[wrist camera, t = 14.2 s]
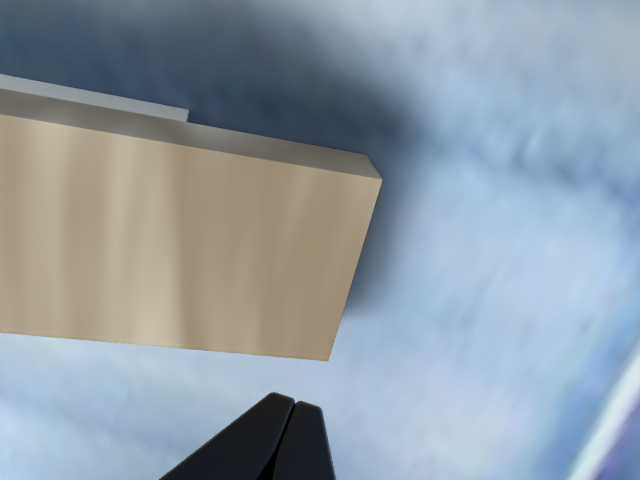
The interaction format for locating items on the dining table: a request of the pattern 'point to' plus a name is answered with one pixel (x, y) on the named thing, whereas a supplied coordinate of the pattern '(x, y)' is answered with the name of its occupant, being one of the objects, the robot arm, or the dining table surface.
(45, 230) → the domino
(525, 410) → the dining table surface
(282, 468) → the robot arm
